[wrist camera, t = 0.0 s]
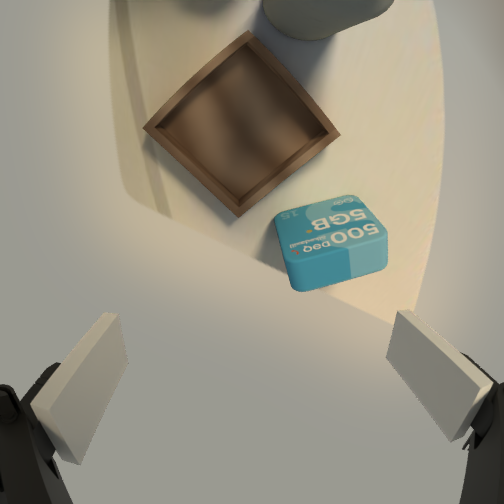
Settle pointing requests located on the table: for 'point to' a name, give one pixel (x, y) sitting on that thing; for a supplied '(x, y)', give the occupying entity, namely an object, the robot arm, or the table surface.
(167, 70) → the table surface
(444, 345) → the robot arm
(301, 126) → the walnut tray
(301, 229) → the data package
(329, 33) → the water bottle
